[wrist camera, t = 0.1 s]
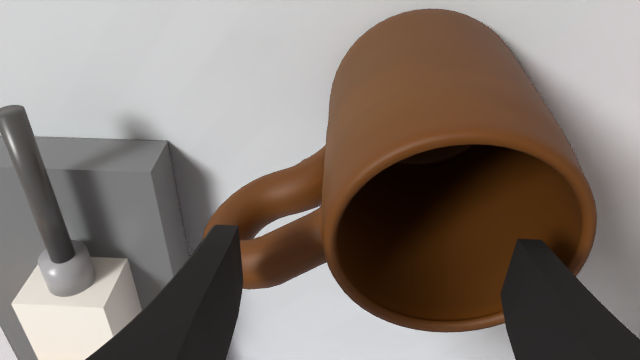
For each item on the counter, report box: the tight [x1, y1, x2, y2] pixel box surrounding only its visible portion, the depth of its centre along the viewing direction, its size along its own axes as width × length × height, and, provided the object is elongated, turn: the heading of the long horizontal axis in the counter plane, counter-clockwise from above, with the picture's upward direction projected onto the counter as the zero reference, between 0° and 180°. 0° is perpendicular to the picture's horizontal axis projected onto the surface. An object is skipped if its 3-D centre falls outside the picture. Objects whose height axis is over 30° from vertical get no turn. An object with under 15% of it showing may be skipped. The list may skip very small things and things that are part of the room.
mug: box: [202, 9, 597, 332], centre depth 19 cm, size 12×8×9 cm, turn 108°
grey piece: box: [0, 136, 189, 360], centre depth 27 cm, size 18×10×6 cm, turn 0°
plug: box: [0, 105, 142, 360], centre depth 23 cm, size 12×4×3 cm, turn 0°
